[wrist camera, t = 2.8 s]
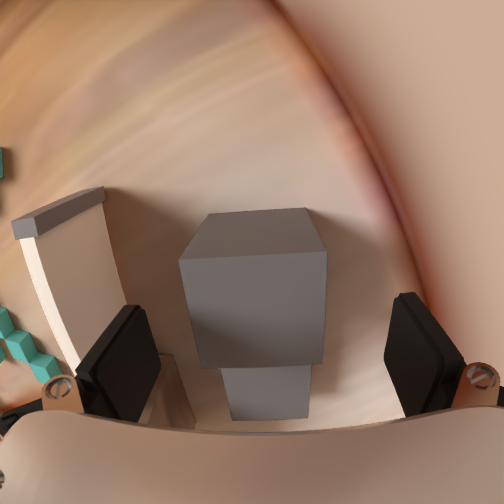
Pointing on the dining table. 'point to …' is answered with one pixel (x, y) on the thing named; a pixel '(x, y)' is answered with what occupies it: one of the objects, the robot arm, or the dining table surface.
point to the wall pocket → (168, 399)
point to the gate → (72, 269)
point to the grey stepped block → (258, 307)
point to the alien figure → (25, 343)
